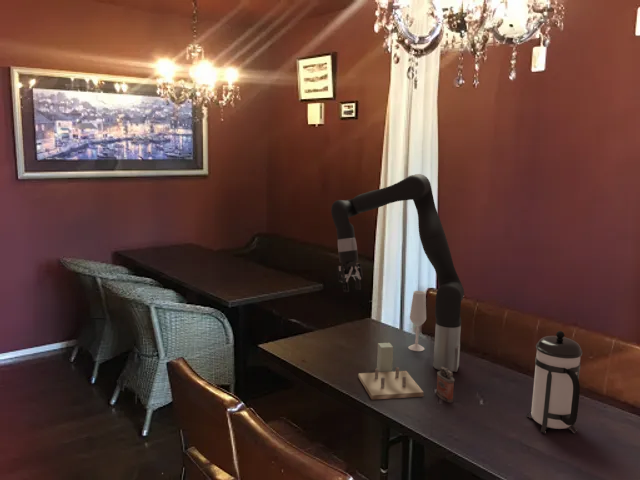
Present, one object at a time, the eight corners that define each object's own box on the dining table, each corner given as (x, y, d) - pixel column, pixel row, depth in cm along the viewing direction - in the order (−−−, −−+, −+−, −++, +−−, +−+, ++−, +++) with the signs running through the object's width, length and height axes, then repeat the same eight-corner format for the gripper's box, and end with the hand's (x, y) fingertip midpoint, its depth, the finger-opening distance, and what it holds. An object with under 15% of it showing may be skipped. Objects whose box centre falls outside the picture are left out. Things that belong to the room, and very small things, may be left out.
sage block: (376, 368, 212) (377, 343, 211) (388, 367, 213) (389, 342, 211) (380, 373, 208) (381, 347, 206) (391, 372, 209) (393, 346, 207)
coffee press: (515, 425, 172) (523, 331, 166) (538, 408, 183) (546, 320, 177) (572, 447, 159) (583, 347, 154) (593, 428, 171) (604, 334, 165)
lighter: (433, 392, 193) (435, 365, 191) (442, 391, 194) (443, 363, 192) (446, 403, 185) (448, 374, 184) (455, 401, 187) (457, 373, 185)
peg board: (405, 374, 207) (406, 361, 206) (423, 396, 190) (424, 382, 189) (358, 377, 204) (358, 364, 203) (371, 399, 187) (372, 385, 186)
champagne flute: (407, 350, 232) (410, 293, 228) (408, 344, 238) (411, 289, 234) (424, 351, 230) (427, 295, 226) (425, 346, 237) (428, 290, 233)
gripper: (345, 250, 216) (350, 292, 215) (365, 248, 227) (369, 288, 227) (329, 252, 220) (334, 293, 220) (349, 250, 232) (354, 289, 231)
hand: (352, 290), depth 223 cm, fingers open, 8 cm apart
